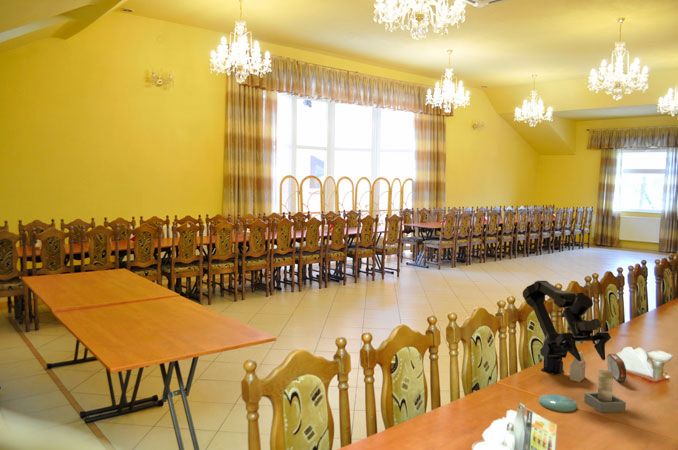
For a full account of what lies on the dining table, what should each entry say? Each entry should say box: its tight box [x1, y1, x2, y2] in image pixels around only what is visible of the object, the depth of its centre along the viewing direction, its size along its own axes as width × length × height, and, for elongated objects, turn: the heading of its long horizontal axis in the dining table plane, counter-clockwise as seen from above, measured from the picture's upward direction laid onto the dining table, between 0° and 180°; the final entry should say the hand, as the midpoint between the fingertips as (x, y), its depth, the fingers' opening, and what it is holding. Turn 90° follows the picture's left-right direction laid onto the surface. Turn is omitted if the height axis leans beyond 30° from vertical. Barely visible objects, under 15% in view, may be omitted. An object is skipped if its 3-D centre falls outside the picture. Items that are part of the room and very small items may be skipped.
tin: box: [606, 353, 627, 382], centre depth 200 cm, size 15×3×8 cm, turn 168°
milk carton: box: [569, 351, 587, 383], centre depth 198 cm, size 4×7×10 cm, turn 138°
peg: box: [597, 369, 614, 402], centre depth 173 cm, size 4×4×12 cm
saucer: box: [538, 394, 578, 413], centre depth 174 cm, size 12×12×1 cm
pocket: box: [583, 391, 627, 413], centre depth 173 cm, size 9×9×3 cm
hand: (592, 360), depth 180 cm, fingers open, 9 cm apart
